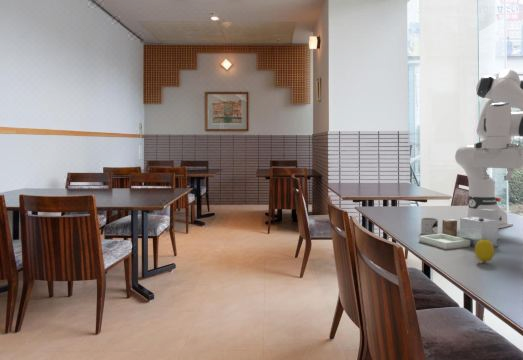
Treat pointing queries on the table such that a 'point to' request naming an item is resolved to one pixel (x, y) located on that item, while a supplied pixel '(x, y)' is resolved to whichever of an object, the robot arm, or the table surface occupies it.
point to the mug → (429, 226)
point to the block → (449, 227)
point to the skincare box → (490, 216)
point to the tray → (444, 241)
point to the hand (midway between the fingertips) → (496, 179)
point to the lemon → (484, 250)
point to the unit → (478, 230)
